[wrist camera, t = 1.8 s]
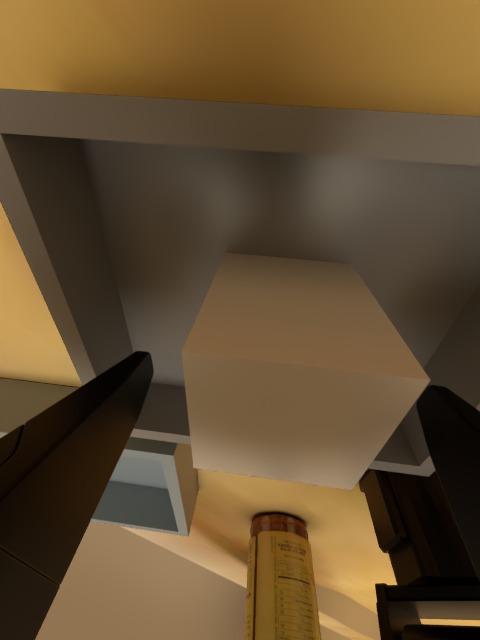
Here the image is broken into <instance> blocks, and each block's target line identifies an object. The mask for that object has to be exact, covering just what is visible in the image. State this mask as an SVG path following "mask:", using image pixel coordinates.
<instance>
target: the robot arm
mask: <svg viewBox="0 0 480 640" xmlns="http://www.w3.org/2000/svg"><path fill="white" fill-rule="evenodd" d="M153 374H154V368H153V363H152V357H151V354H150V352H147V351H136V352H134V353H133V354H131V355H129V356H128V357H126V358H125V359H123V360H122V361H120V362H119V363H117V364H115V365H114V366H112V367H111V368H109V369H108V370H106V371H104V372H103V373H101V374H100V375H98V376H97V377H95V378H94V379H92V380H90V381H89V382H87V383H86V384H84V385H83V386H81V387H80V388H78V389H76V390H75V391H73V392H72V393H70V394H69V395H67V396H66V397H64V398H62V399H61V400H59V401H58V402H56V403H55V404H53V405H52V406H50V407H48V408H47V409H45V410H44V411H42V412H41V413H39V414H37V415H36V416H34V417H33V418H31V419H30V420H28V421H27V422H25V425H24V424H22V425H20V426H19V427H17V428H15V429H14V430H12V431H11V432H9V433H8V434H6V435H5V436H3V437H1V438H0V640H35V638H36V636H37V634H38V632H39V630H40V628H41V626H42V623H43V621H44V619H45V617H46V615H47V613H48V611H49V609H50V606H51V604H52V602H53V600H54V598H55V596H56V594H57V592H58V589H59V586H60V584H61V582H62V580H63V578H64V576H65V574H66V572H67V570H68V567H69V565H70V563H71V561H72V559H73V557H74V555H75V553H76V550H77V548H78V546H79V544H80V542H81V540H82V538H83V536H84V533H85V531H86V529H87V527H88V525H89V523H90V521H91V519H92V516H93V514H94V512H95V510H96V508H97V506H98V504H99V501H100V499H101V497H102V495H103V493H104V491H105V489H106V487H107V484H108V482H109V480H110V478H111V476H112V474H113V472H114V469H115V467H116V465H117V463H118V461H119V459H120V457H121V455H122V452H123V450H124V448H125V446H126V444H127V442H128V440H129V437H130V435H131V433H132V431H133V429H134V427H135V425H136V422H137V420H138V418H139V415H140V413H141V410H142V407H143V404H144V401H145V398H146V395H147V392H148V389H149V386H150V383H151V380H152V377H153ZM416 409H417V412H418V416H419V419H420V423H421V426H422V430H423V434H424V437H425V441H426V444H427V448H428V451H429V454H430V457H431V460H432V462H433V465H434V468H435V471H434V472H433V473H432V474H431V475H430V476H429V477H428V476H420V475H413V474H405V473H398V472H390V471H383V470H375V469H370V470H369V471H368V472H367V474H366V475H365V477H364V478H363V479H362V481H361V482H360V483H359V487H360V490H361V492H364V493H365V496H366V499H367V503H368V507H369V511H370V514H371V518H372V522H373V525H374V529H375V533H376V537H377V540H378V544H379V547H380V549H381V550H382V551H383V553H388V554H389V557H390V561H391V564H392V568H393V571H394V575H395V578H396V582H397V585H387V584H385V583H380V584H375V588H376V595H377V603H376V605H377V613H378V620H379V628H380V636H381V640H480V626H452V625H424V624H421V621H420V619H456V620H480V411H479V410H477V409H476V408H475V407H473V406H472V405H470V404H469V403H468V402H466V401H465V400H463V399H462V398H461V397H459V396H458V395H456V394H455V393H454V392H452V391H451V390H449V389H448V388H446V387H444V386H438V385H429V386H427V387H426V389H425V390H424V392H423V393H422V394H421V396H420V397H419V399H418V400H417V403H416Z"/></svg>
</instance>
